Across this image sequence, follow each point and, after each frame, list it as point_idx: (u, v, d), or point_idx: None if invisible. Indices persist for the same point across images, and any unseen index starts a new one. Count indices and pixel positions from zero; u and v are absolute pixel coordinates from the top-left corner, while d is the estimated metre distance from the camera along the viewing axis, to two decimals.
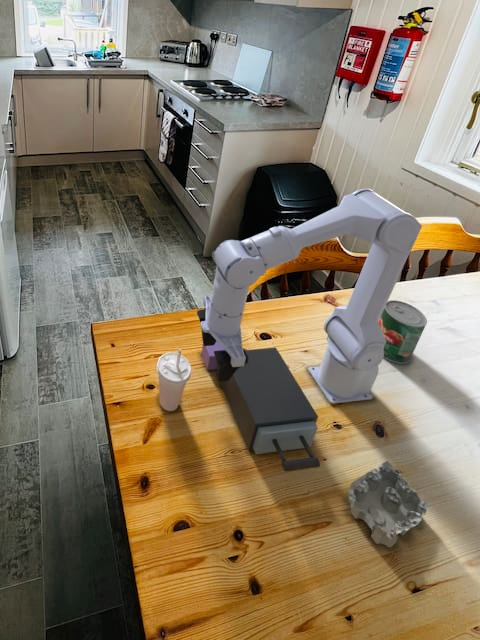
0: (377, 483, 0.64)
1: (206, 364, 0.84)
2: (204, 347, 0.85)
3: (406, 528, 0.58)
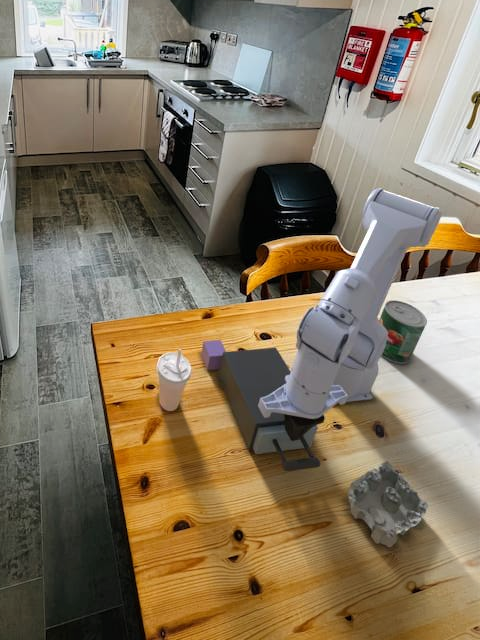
0: (377, 483, 0.64)
1: (206, 364, 0.84)
2: (204, 347, 0.85)
3: (406, 528, 0.58)
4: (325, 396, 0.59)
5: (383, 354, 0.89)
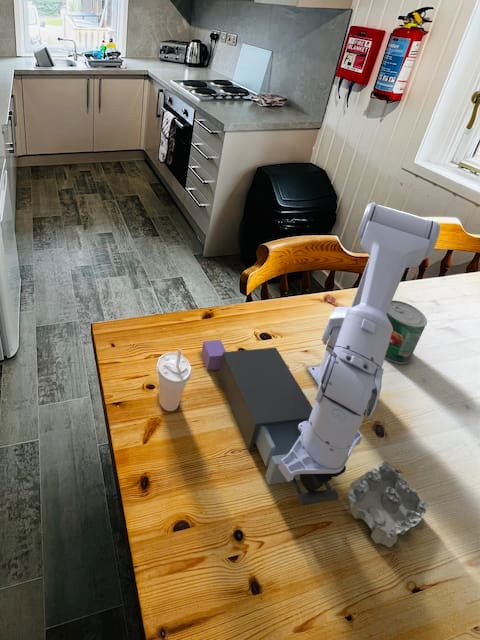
0: (377, 483, 0.64)
1: (206, 364, 0.84)
2: (204, 347, 0.85)
3: (406, 528, 0.58)
4: (349, 448, 0.55)
5: None
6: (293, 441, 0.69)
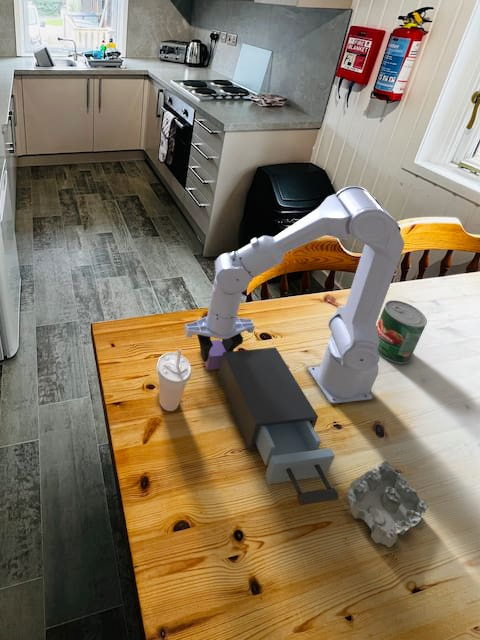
0: (377, 483, 0.64)
1: (206, 364, 0.84)
2: None
3: (406, 528, 0.58)
4: (231, 321, 0.78)
5: (383, 354, 0.89)
6: (293, 441, 0.69)
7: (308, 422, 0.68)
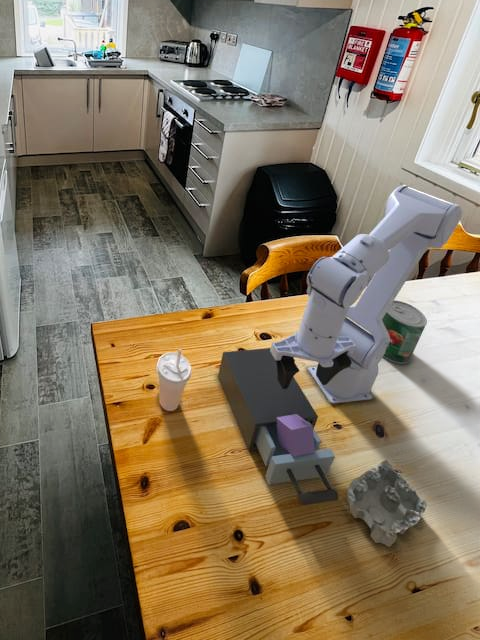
0: (376, 482, 0.64)
1: (290, 448, 0.63)
2: (280, 425, 0.66)
3: (405, 527, 0.58)
4: None
5: None
6: None
7: (308, 422, 0.68)
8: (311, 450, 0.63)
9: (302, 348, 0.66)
